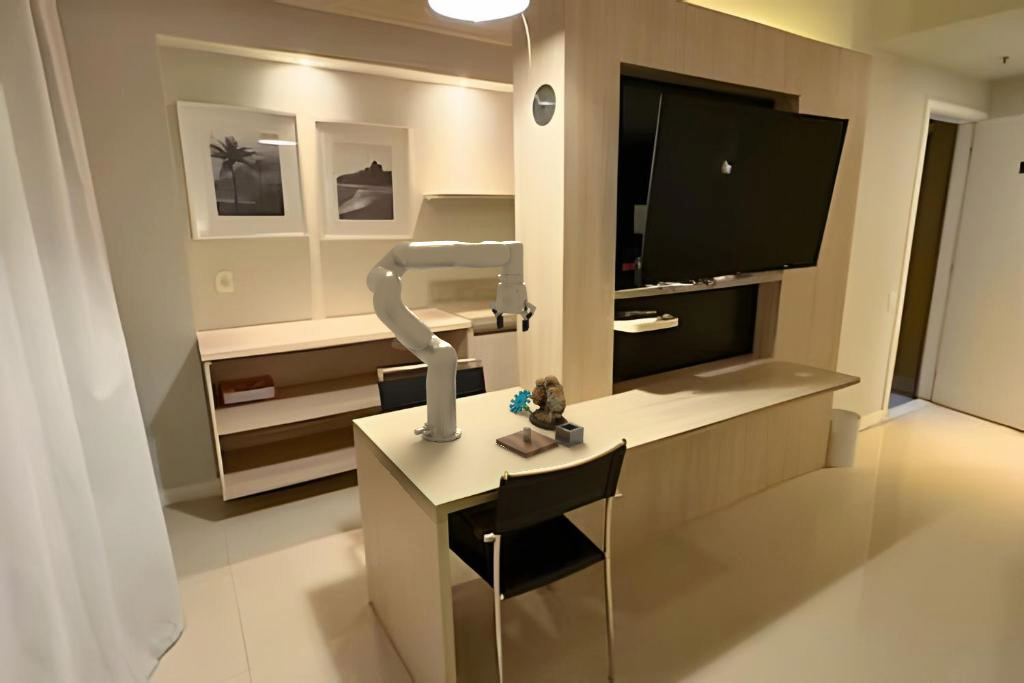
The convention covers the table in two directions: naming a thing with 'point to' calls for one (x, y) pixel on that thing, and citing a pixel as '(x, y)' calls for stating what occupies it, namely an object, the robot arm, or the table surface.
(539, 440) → the post base
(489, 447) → the table surface
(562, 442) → the collar
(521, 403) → the blue flower cluster
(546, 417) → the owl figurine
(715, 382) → the table surface
